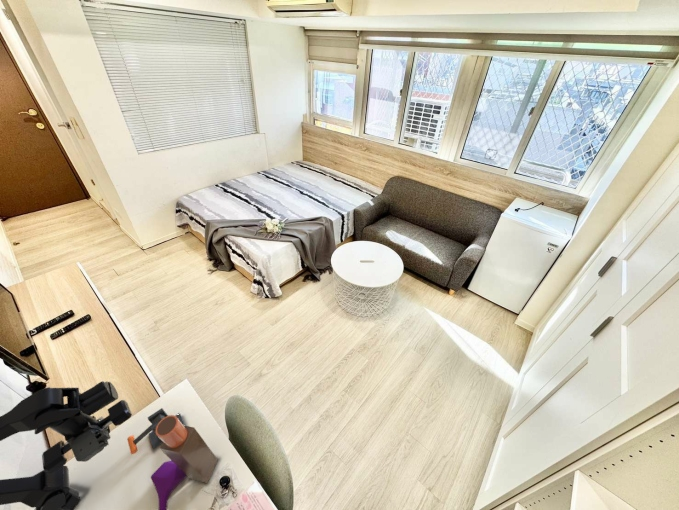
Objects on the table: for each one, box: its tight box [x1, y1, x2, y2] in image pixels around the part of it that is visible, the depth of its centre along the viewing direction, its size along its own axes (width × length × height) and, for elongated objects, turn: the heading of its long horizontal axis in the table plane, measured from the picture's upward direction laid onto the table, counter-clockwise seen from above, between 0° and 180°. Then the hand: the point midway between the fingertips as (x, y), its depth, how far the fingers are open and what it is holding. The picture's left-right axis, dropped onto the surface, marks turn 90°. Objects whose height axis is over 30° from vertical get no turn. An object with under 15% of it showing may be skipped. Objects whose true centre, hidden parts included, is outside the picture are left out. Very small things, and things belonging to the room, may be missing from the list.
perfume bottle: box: [150, 459, 188, 510], centre depth 77 cm, size 8×8×18 cm
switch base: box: [147, 407, 186, 450], centre depth 91 cm, size 10×6×10 cm, turn 134°
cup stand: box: [158, 424, 219, 484], centre depth 77 cm, size 6×6×24 cm
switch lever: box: [127, 414, 165, 455], centre depth 87 cm, size 11×6×2 cm, turn 134°
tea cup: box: [156, 414, 187, 448], centre depth 68 cm, size 5×5×7 cm
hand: (106, 444), depth 79 cm, fingers closed
